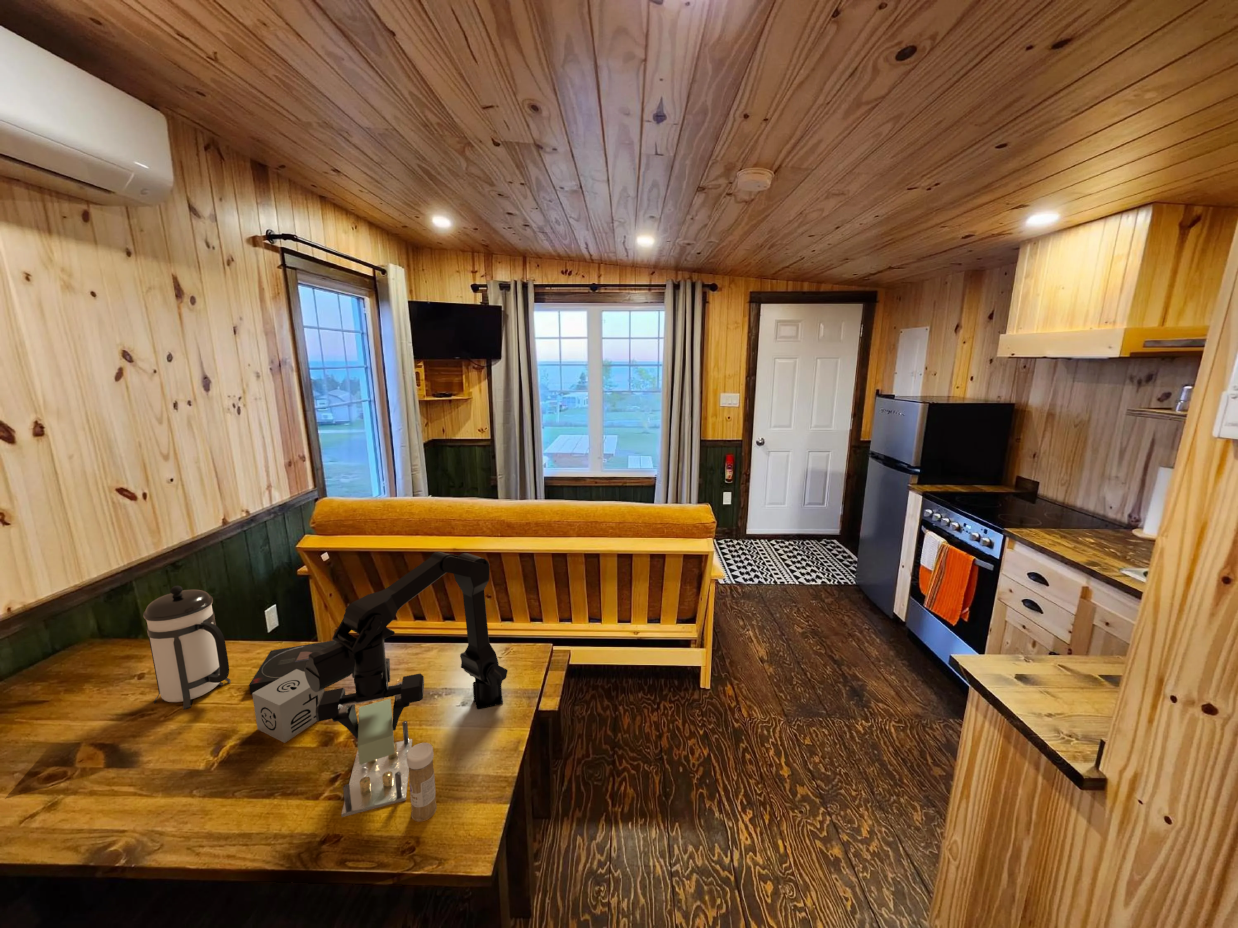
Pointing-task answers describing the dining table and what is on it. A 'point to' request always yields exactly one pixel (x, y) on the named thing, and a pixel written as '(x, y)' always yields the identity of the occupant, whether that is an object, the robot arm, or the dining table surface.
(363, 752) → the board
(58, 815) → the dining table surface
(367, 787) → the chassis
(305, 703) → the icon cube
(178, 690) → the coffee press
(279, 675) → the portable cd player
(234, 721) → the dining table surface
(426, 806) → the sprinkles bottle
